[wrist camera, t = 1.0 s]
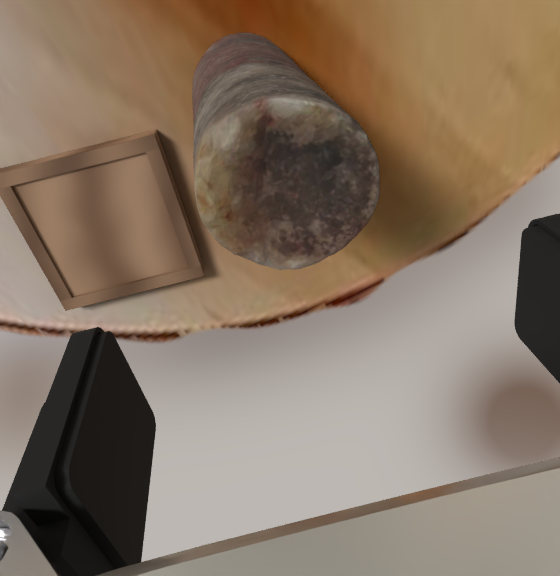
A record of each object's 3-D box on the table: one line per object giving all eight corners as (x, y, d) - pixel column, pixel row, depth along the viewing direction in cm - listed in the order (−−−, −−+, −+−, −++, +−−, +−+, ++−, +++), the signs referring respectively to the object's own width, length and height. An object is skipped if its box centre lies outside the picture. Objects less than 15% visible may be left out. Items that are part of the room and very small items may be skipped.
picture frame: (156, 129, 35) (154, 135, 34) (204, 267, 42) (204, 276, 40) (-4, 169, 35) (-11, 176, 34) (69, 300, 42) (65, 310, 41)
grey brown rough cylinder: (316, 108, 36) (412, 218, 19) (235, 163, 37) (258, 311, 21) (259, 7, 32) (317, 36, 15) (171, 74, 33) (135, 166, 17)
